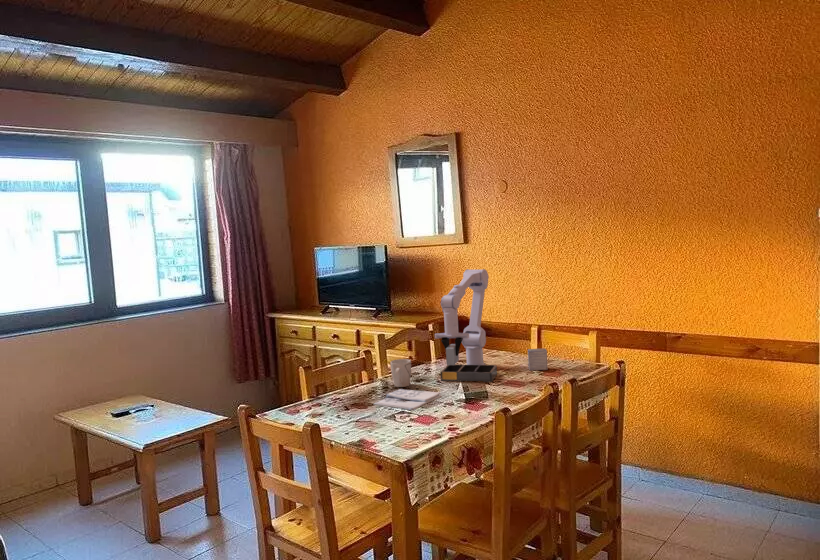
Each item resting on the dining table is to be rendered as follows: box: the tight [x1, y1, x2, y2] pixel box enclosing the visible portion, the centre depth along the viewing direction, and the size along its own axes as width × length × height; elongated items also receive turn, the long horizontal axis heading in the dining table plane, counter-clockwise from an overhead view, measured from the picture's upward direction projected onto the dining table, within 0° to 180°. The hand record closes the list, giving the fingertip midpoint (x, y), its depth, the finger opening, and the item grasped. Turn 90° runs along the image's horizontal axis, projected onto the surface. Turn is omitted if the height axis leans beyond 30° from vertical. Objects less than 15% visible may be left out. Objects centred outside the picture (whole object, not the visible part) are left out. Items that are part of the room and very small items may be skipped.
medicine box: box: [527, 348, 549, 371], centre depth 265 cm, size 8×4×9 cm, turn 84°
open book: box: [373, 388, 442, 411], centre depth 229 cm, size 19×20×2 cm
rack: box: [440, 364, 498, 383], centre depth 258 cm, size 14×21×4 cm, turn 73°
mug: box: [390, 358, 412, 388], centre depth 249 cm, size 11×8×10 cm
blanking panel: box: [445, 343, 460, 366], centre depth 258 cm, size 9×3×7 cm, turn 163°
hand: (452, 355), depth 259 cm, fingers closed on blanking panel, 3 cm apart
